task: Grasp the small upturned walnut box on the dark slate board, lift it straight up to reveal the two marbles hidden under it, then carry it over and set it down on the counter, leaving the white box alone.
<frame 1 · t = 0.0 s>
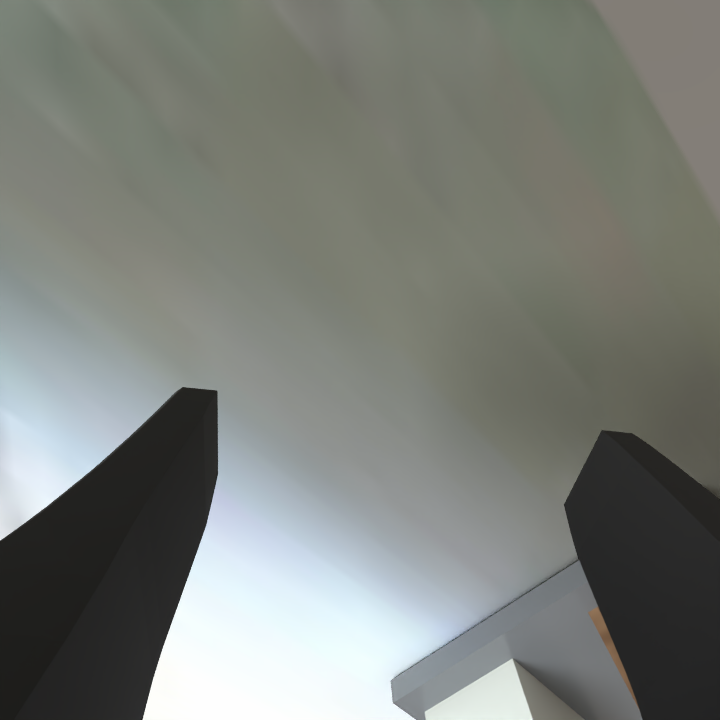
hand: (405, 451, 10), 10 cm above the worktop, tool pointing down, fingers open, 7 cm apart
board: (594, 652, 27), on the worktop
walnut box: (683, 628, 25), point 1 cm above the worktop, touching board
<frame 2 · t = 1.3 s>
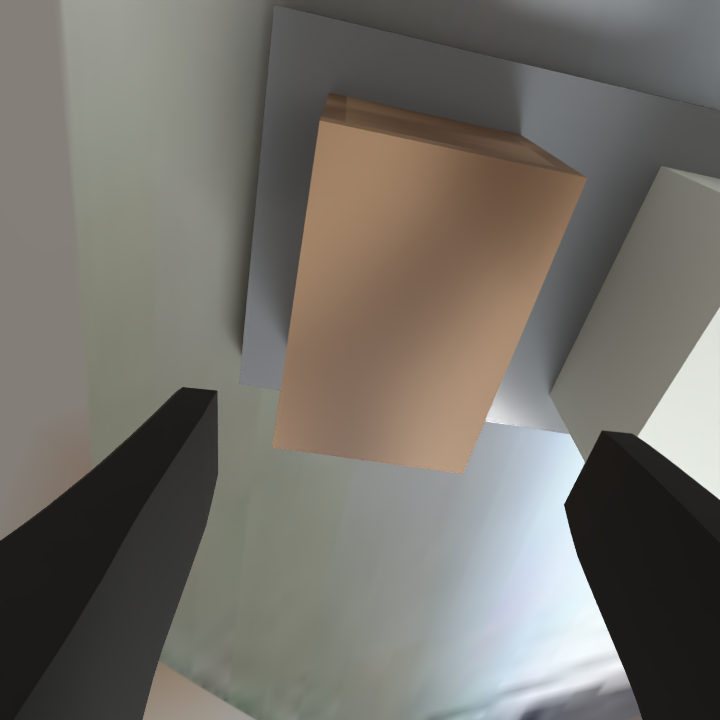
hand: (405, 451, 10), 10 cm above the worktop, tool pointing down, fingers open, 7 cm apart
board: (513, 267, 18), on the worktop
white box: (672, 308, 18), point 1 cm above the worktop, touching board
walnut box: (392, 256, 17), point 1 cm above the worktop, touching board
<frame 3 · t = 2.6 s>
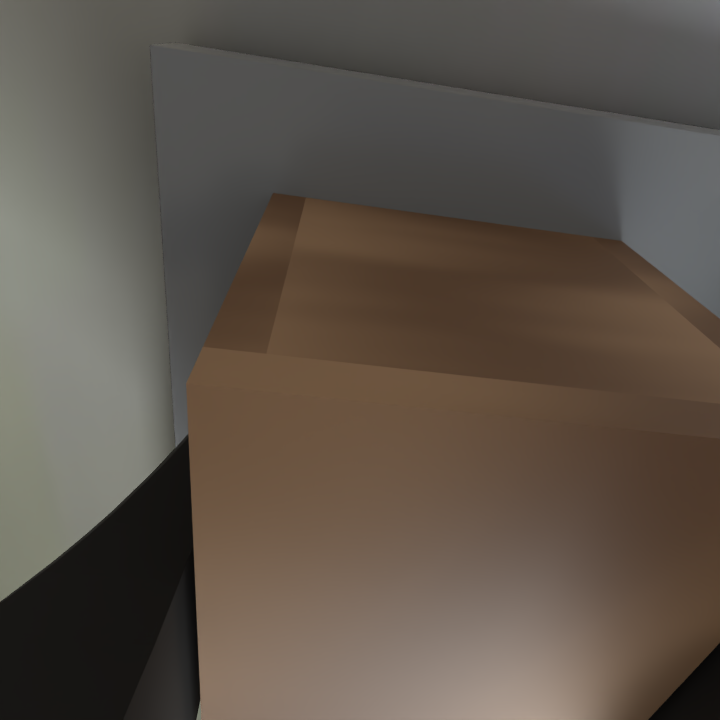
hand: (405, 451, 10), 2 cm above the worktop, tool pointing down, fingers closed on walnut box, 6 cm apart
board: (592, 412, 12), on the worktop
walnut box: (402, 427, 10), point 1 cm above the worktop, touching board, gripper
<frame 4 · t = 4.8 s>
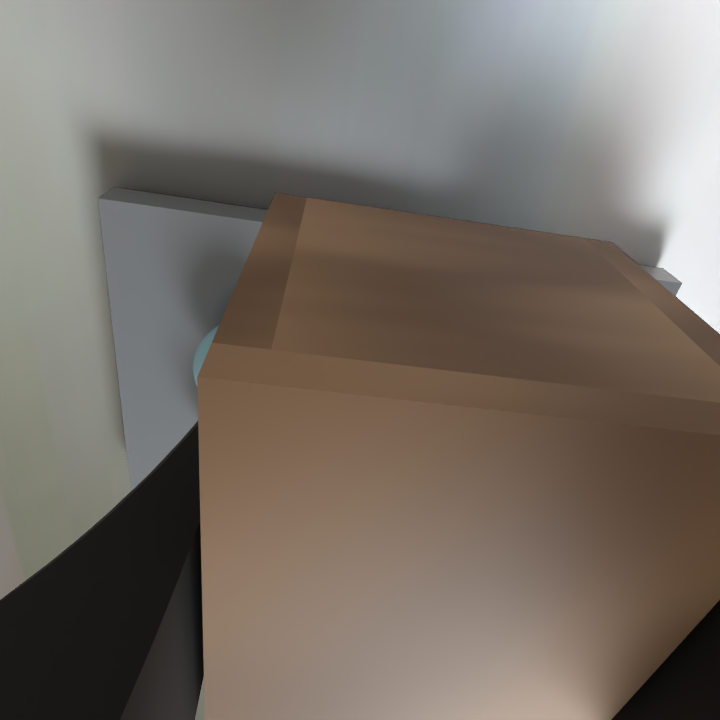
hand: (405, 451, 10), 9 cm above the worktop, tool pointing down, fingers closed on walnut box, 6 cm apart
board: (372, 381, 20), on the worktop
walnut box: (398, 421, 11), point 8 cm above the worktop, touching gripper
marble a: (250, 342, 18), point 1 cm above the worktop, touching board
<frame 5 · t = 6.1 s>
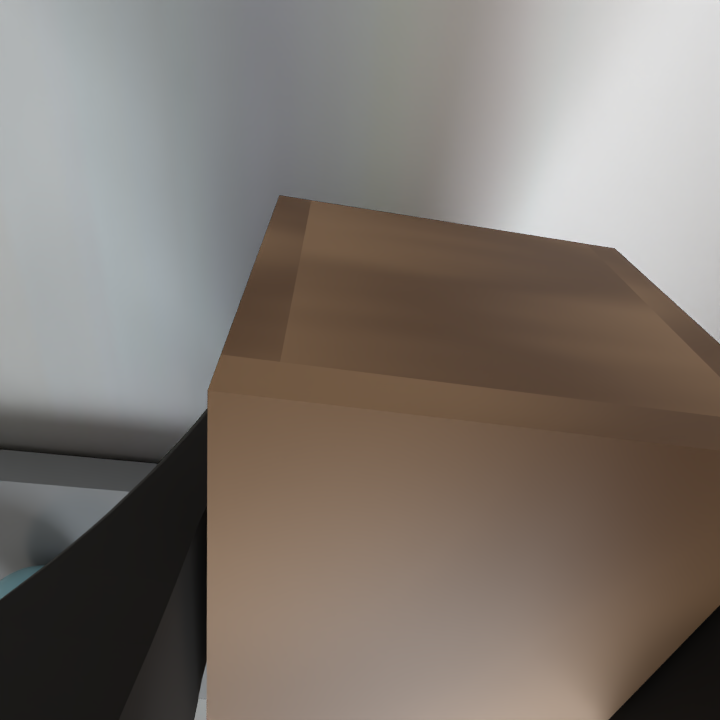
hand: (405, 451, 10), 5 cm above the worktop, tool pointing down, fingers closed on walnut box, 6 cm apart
board: (205, 584, 19), on the worktop
walnut box: (398, 422, 11), point 4 cm above the worktop, touching gripper
marble a: (55, 574, 17), point 1 cm above the worktop, touching board
when the fingers open (2 cm above the worktop, at t = 7.2 s): walnut box stays where it is, on the worktop.
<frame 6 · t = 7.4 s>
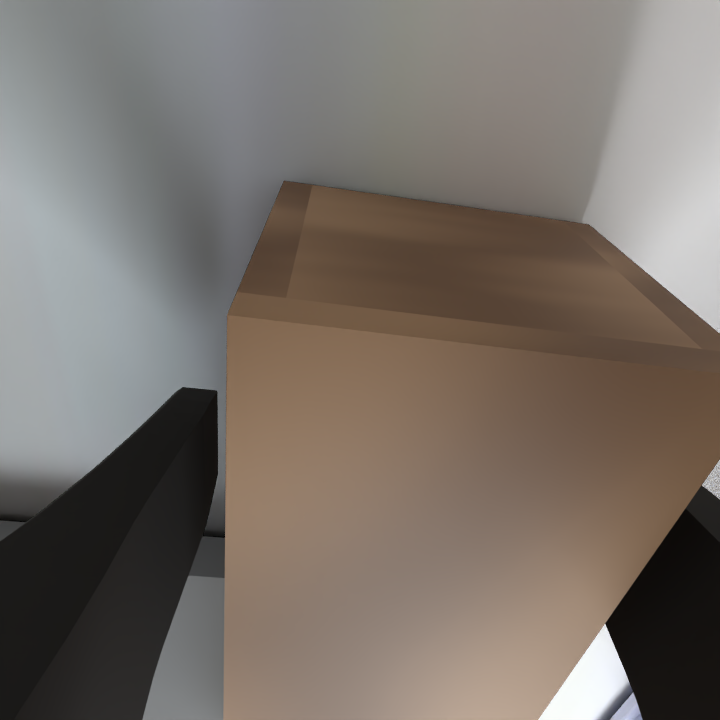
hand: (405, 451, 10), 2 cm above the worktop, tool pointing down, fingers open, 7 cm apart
board: (186, 653, 17), on the worktop
walnut box: (396, 394, 12), on the worktop
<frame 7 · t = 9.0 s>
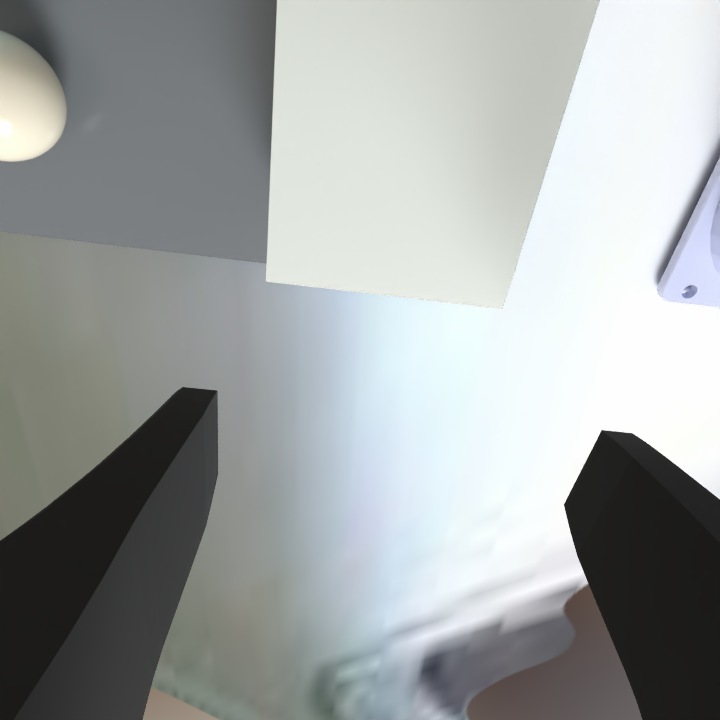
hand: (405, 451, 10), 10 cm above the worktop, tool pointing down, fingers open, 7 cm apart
marble b: (29, 90, 14), point 1 cm above the worktop, touching board
board: (205, 38, 15), on the worktop
white box: (401, 71, 14), point 1 cm above the worktop, touching board
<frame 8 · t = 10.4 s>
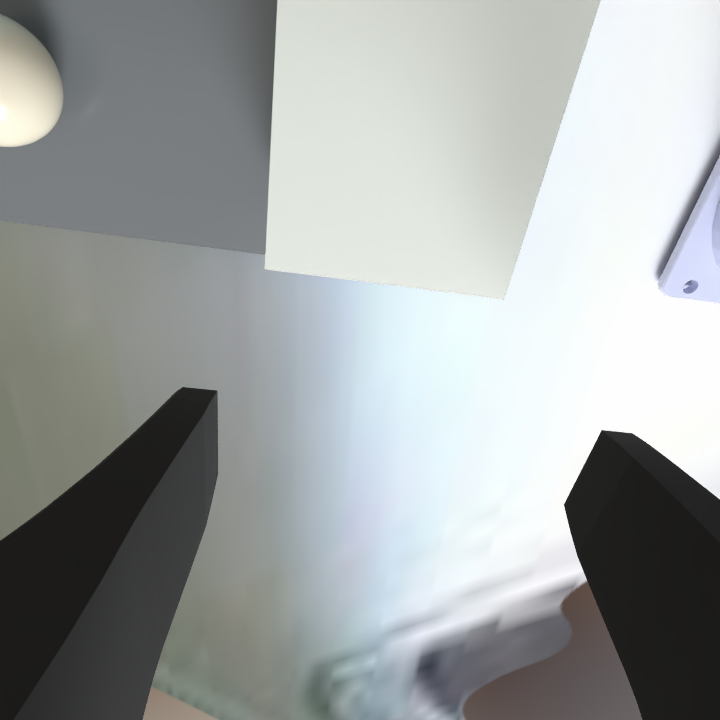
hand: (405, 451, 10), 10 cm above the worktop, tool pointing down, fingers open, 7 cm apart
marble b: (25, 75, 14), point 1 cm above the worktop, touching board
board: (204, 25, 14), on the worktop
white box: (403, 59, 14), point 1 cm above the worktop, touching board
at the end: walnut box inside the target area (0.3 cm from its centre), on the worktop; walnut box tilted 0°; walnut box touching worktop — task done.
